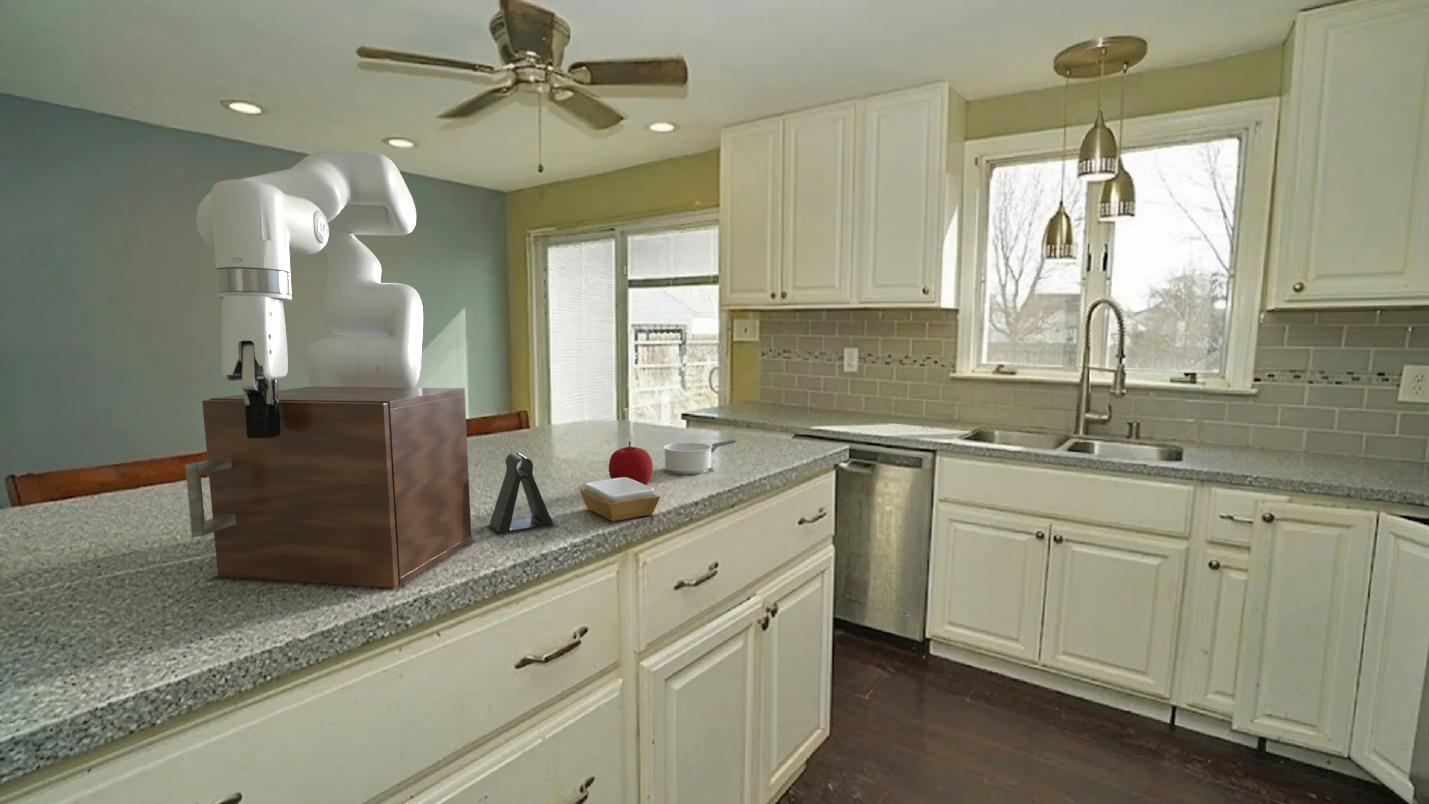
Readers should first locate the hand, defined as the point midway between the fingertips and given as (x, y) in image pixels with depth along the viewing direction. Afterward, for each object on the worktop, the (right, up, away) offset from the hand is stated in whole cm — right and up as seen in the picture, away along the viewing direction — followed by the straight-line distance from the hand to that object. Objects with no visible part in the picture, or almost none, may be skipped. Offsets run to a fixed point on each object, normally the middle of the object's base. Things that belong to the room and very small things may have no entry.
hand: (264, 436), depth 83 cm
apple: (+38, -14, +55) cm, 69 cm away
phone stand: (+23, -17, +30) cm, 41 cm away
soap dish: (+39, -16, +37) cm, 56 cm away
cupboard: (+4, -18, +15) cm, 24 cm away
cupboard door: (+2, -20, +3) cm, 20 cm away
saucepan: (+53, -11, +75) cm, 93 cm away
